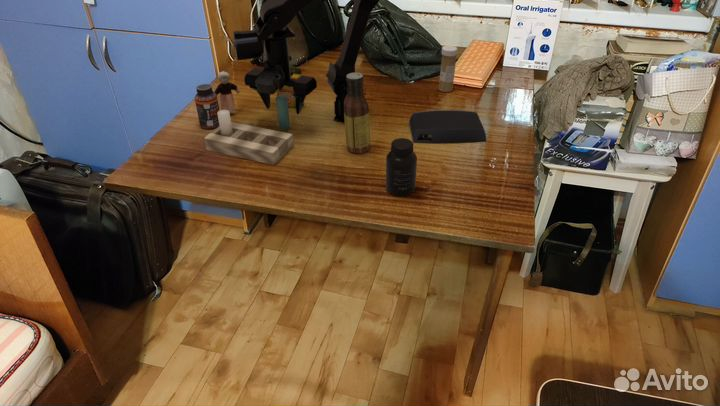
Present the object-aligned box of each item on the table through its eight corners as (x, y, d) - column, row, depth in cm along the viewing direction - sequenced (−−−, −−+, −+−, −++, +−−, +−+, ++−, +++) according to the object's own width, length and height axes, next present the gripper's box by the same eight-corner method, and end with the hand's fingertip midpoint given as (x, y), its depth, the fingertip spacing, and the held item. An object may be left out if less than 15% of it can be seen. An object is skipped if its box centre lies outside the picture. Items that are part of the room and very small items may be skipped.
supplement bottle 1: (216, 130, 144) (209, 92, 137) (196, 128, 145) (188, 90, 138) (225, 120, 148) (218, 83, 142) (205, 118, 149) (198, 81, 143)
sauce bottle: (373, 144, 137) (374, 72, 125) (365, 156, 132) (365, 82, 120) (349, 140, 139) (348, 68, 127) (341, 152, 134) (339, 78, 122)
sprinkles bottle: (436, 87, 165) (440, 45, 157) (450, 86, 166) (454, 44, 158) (440, 93, 162) (444, 50, 154) (455, 92, 162) (459, 49, 154)
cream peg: (236, 141, 139) (231, 110, 133) (230, 147, 136) (225, 116, 131) (227, 139, 140) (221, 108, 134) (220, 145, 137) (214, 114, 132)
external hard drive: (408, 122, 148) (409, 108, 145) (476, 121, 148) (478, 107, 146) (412, 145, 137) (413, 132, 135) (486, 144, 137) (488, 130, 135)
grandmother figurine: (221, 119, 149) (213, 77, 141) (215, 114, 151) (207, 73, 144) (245, 111, 153) (238, 69, 145) (238, 106, 155) (231, 65, 148)
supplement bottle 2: (383, 180, 123) (384, 135, 116) (412, 179, 124) (415, 134, 117) (387, 197, 118) (388, 151, 111) (417, 196, 118) (420, 150, 111)
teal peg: (292, 126, 145) (289, 96, 140) (286, 131, 143) (283, 100, 138) (282, 124, 146) (279, 94, 141) (277, 129, 144) (273, 98, 139)
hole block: (293, 146, 137) (292, 134, 135) (274, 165, 129) (272, 153, 127) (228, 132, 143) (226, 120, 141) (206, 150, 135) (204, 138, 133)
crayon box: (277, 105, 156) (273, 67, 149) (282, 101, 158) (278, 63, 151) (299, 109, 154) (296, 71, 147) (304, 105, 156) (301, 67, 149)
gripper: (227, 61, 129) (237, 118, 139) (295, 71, 124) (300, 130, 133) (251, 46, 138) (259, 100, 147) (315, 55, 132) (319, 111, 141)
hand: (283, 110), depth 142 cm, fingers open, 9 cm apart
